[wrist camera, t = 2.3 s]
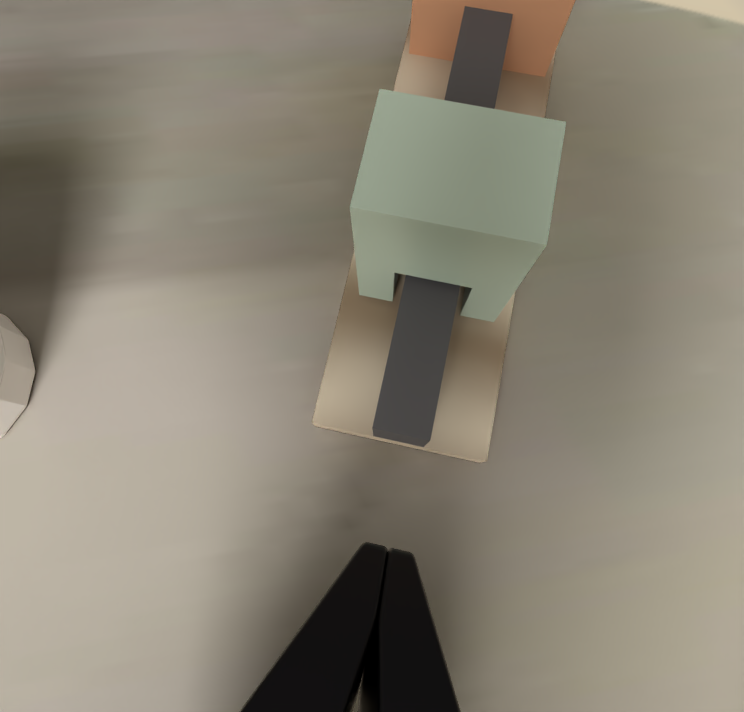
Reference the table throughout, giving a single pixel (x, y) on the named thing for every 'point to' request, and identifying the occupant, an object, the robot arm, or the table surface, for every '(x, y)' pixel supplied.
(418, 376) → the rail
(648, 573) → the table surface
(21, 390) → the white cup
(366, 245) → the sleeve
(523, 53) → the band
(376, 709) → the robot arm
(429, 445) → the track board
